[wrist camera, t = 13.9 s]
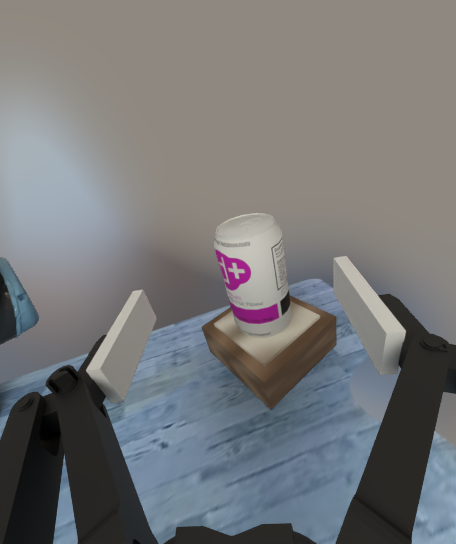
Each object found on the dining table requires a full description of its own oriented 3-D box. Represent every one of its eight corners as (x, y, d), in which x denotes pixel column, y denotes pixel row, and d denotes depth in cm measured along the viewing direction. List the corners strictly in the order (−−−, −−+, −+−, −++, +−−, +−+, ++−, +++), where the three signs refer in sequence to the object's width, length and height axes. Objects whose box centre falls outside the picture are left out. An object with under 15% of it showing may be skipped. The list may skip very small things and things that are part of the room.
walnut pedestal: (210, 351, 42) (200, 324, 39) (269, 307, 48) (264, 281, 45) (270, 409, 31) (263, 379, 29) (336, 344, 38) (336, 314, 35)
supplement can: (260, 351, 32) (235, 246, 25) (226, 320, 39) (199, 230, 31) (305, 319, 35) (295, 217, 28) (266, 295, 42) (250, 207, 34)
